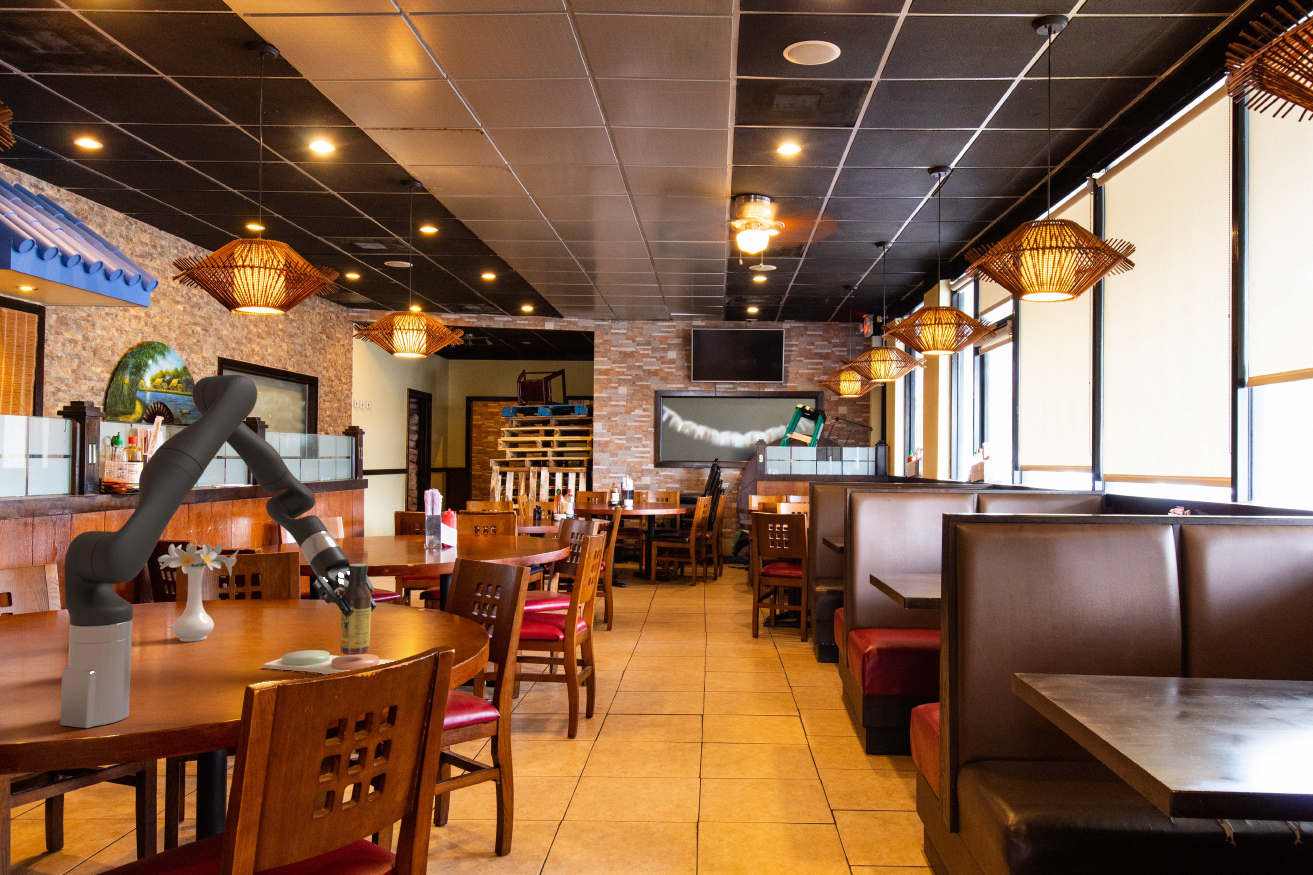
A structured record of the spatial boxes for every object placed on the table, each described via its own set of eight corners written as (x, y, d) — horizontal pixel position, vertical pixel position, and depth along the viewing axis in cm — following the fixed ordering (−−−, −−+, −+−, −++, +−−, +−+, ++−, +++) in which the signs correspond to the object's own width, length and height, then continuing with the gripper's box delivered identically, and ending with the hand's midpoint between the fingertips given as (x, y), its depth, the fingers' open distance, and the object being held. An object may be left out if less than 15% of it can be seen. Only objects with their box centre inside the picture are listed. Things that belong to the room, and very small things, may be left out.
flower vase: (240, 638, 211) (244, 542, 212) (159, 647, 199) (163, 546, 201) (228, 630, 221) (231, 539, 222) (150, 639, 209) (154, 542, 210)
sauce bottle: (339, 650, 183) (342, 562, 184) (368, 648, 185) (371, 562, 186) (341, 657, 177) (344, 566, 178) (371, 654, 179) (374, 565, 180)
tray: (364, 677, 173) (364, 667, 174) (262, 668, 180) (263, 658, 180) (395, 664, 185) (396, 655, 185) (299, 656, 192) (299, 647, 192)
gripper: (308, 547, 179) (346, 605, 173) (357, 542, 192) (394, 596, 186) (290, 569, 181) (327, 628, 175) (340, 563, 194) (376, 617, 188)
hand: (361, 611), depth 181 cm, fingers closed on sauce bottle, 6 cm apart
